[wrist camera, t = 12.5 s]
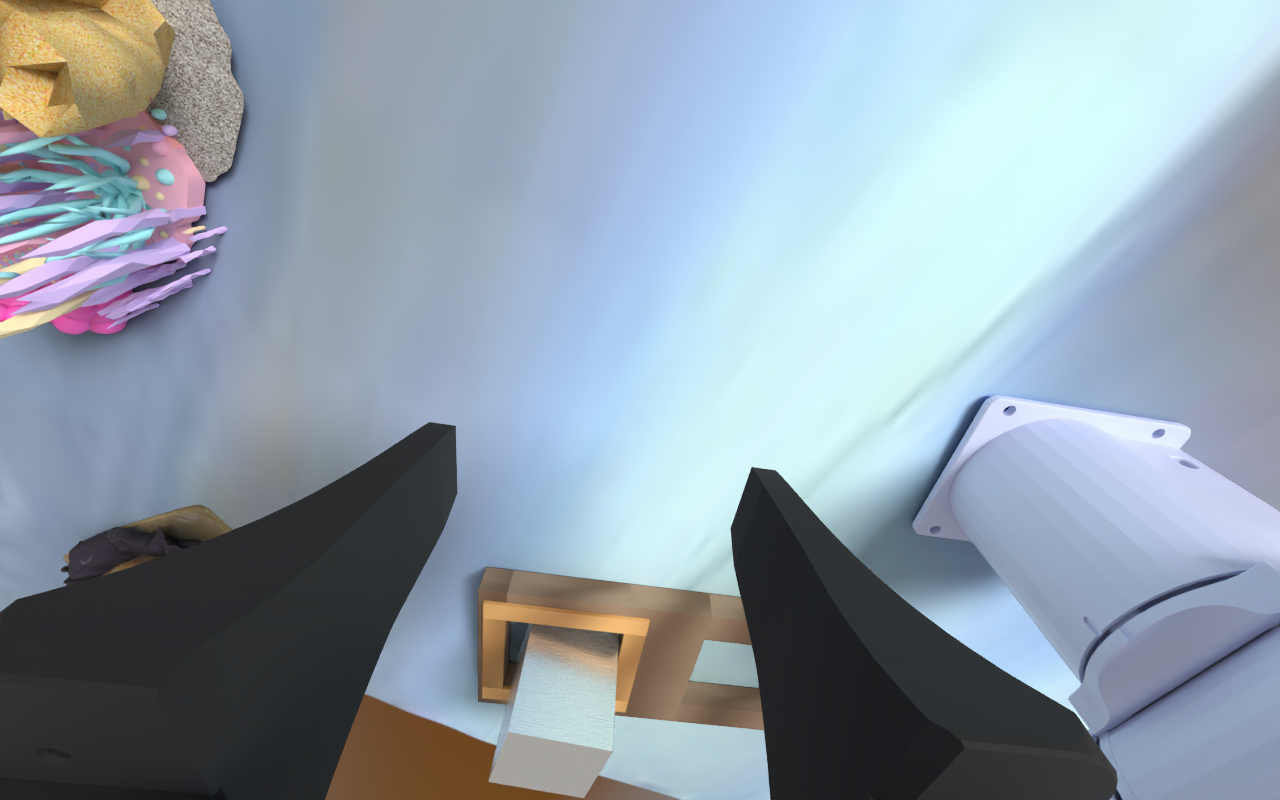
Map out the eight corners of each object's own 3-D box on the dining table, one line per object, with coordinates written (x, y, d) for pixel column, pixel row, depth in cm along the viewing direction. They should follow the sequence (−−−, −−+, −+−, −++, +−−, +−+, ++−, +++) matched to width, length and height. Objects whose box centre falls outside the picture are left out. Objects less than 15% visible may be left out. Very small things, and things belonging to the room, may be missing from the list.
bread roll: (207, 487, 25) (143, 541, 22) (316, 593, 29) (275, 652, 26) (54, 541, 27) (-25, 598, 24) (176, 634, 31) (121, 694, 28)
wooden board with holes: (844, 609, 29) (855, 636, 27) (788, 709, 34) (794, 736, 32) (486, 566, 27) (477, 592, 26) (485, 677, 32) (477, 704, 31)
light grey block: (619, 620, 29) (612, 751, 23) (595, 667, 32) (583, 797, 26) (537, 601, 29) (508, 731, 23) (519, 651, 31) (488, 781, 25)
